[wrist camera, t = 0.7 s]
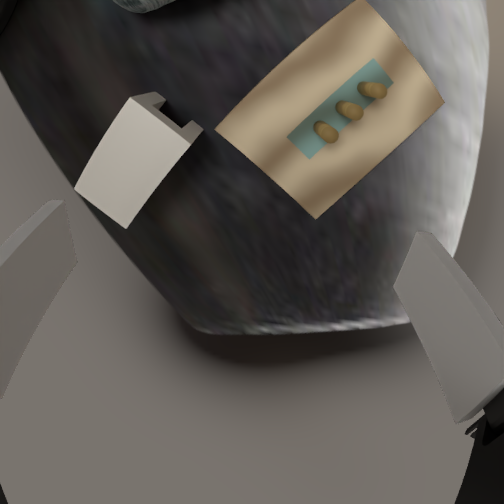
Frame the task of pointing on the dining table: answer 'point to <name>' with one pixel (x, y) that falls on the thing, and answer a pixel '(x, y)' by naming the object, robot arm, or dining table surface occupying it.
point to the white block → (134, 157)
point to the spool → (142, 5)
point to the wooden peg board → (333, 108)
